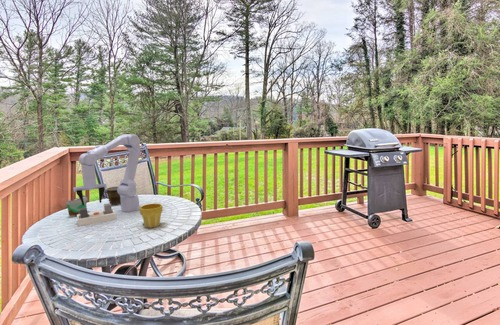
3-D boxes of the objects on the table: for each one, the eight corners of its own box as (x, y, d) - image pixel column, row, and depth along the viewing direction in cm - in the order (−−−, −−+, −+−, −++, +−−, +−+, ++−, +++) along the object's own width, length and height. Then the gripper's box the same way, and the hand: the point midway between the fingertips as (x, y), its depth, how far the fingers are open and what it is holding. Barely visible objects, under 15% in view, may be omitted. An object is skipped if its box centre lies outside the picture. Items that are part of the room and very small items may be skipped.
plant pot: (144, 222, 147) (143, 203, 145) (165, 221, 147) (164, 202, 146) (138, 229, 136) (136, 209, 135) (160, 228, 137) (159, 208, 136)
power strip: (113, 215, 157) (113, 207, 156) (116, 221, 149) (115, 212, 148) (77, 222, 148) (76, 213, 148) (78, 228, 140) (77, 218, 139)
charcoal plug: (111, 215, 154) (110, 203, 153) (112, 218, 150) (111, 205, 149) (105, 217, 152) (103, 204, 151) (106, 219, 149) (104, 206, 148)
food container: (77, 219, 152) (75, 201, 150) (67, 219, 153) (65, 201, 152) (94, 212, 164) (92, 195, 162) (84, 211, 165) (83, 194, 164)
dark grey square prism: (87, 220, 148) (86, 207, 147) (88, 222, 144) (87, 209, 143) (81, 221, 146) (79, 208, 145) (81, 224, 142) (80, 210, 141)
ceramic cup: (119, 200, 187) (117, 185, 185) (128, 203, 181) (126, 187, 180) (99, 205, 177) (97, 189, 175) (107, 208, 171) (106, 192, 169)
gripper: (72, 180, 137) (75, 207, 139) (106, 176, 145) (108, 202, 147) (72, 178, 143) (75, 204, 145) (104, 174, 151) (107, 199, 153)
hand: (91, 203), depth 146 cm, fingers open, 7 cm apart
